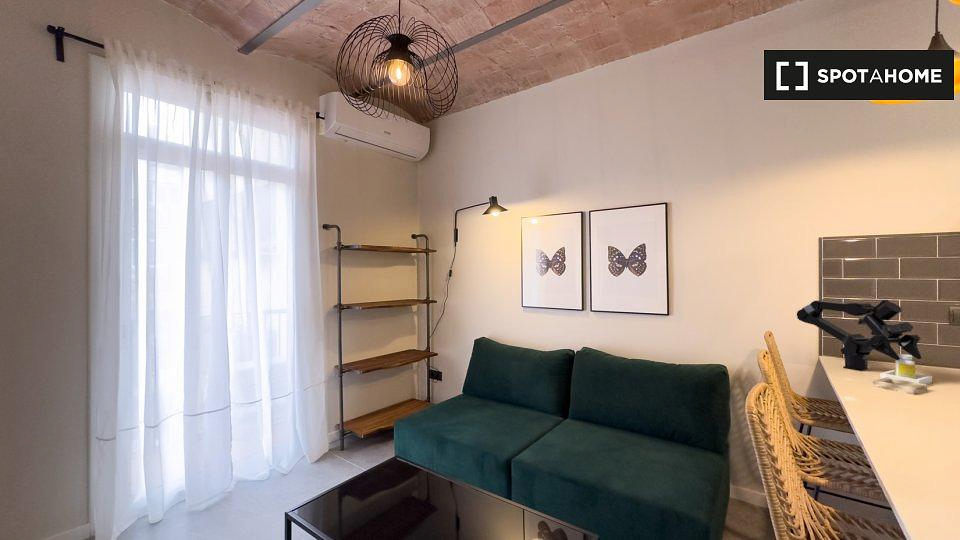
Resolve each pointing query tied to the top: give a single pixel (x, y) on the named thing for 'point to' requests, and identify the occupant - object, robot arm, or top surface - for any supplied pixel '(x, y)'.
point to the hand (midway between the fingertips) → (909, 359)
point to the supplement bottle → (905, 366)
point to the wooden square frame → (900, 385)
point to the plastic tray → (918, 378)
